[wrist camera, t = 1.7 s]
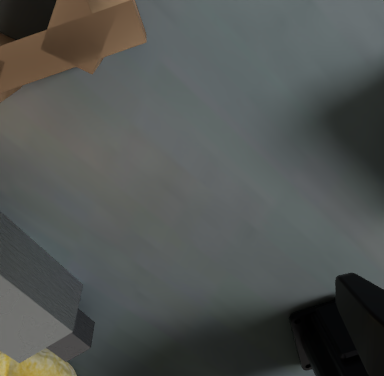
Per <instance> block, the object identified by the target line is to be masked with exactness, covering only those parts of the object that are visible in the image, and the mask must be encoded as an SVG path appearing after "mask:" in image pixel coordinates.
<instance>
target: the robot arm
mask: <svg viewBox="0 0 384 376" xmlns="http://www.w3.org/2000/svg"><path fill="white" fill-rule="evenodd" d="M335 286H336V300H334V301H331V302H328V303H325V304H322V305H318V306H315V307H312V308H309V309H305V310H302V311H299V312H296V313H293V314H292V315H291V316H290V317H289V320H290V324H291V328H292V332H293V336H294V340H295V344H296V348H297V352H298V356H299V359H300V363H301V366H302V368H303V369H304V370H310V369H313V371H314V373H315V375H316V376H384V290H383V289H382V288H380V287H378V286H376V285H374V284H373V283H371V282H369V281H367V280H366V279H364V278H362V277H360V276H359V275H357V274H355V273H348V274H343V275H339V276H337V277H336V280H335Z"/></svg>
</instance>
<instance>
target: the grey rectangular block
mask: <svg viewBox="0 0 384 376" xmlns="http://www.w3.org/2000/svg"><path fill="white" fill-rule="evenodd" d="M82 288H83V284H82V283H81V282H80V281H78V280H77V279H76V278H75V277H74V276H73V275H72V274H71V273H69V272H68V271H67V270H66V269H65V268H64V267H63V266H62V265H60V264H59V263H58V262H57V261H56V260H55V259H54V258H53V257H51V256H50V255H49V254H48V253H47V252H46V251H45V250H44V249H42V248H41V247H40V246H39V245H38V244H37V243H36V242H34V241H33V240H32V239H31V238H30V237H29V236H28V235H27V234H25V233H24V232H23V231H22V230H21V229H20V228H19V227H18V226H16V225H15V224H14V223H13V222H12V221H11V220H10V219H9V218H7V217H6V216H5V215H4V214H3V213H2V212H1V211H0V351H1V352H3V353H4V354H6V355H7V356H9V357H11V358H12V359H14V360H15V361H17V362H18V363H21V362H23V361H24V360H26V359H28V358H29V357H31V356H33V355H35V354H36V353H38V352H40V351H41V350H43V349H45V348H47V349H48V350H50V351H51V352H53V353H54V354H55V355H57V356H58V357H60V358H61V359H62V360H64V361H65V362H67V361H69V360H70V359H72V358H74V357H76V356H77V355H79V354H81V353H83V352H84V351H86V350H88V349H90V348H91V343H92V337H93V331H94V324H95V322H94V321H92V320H91V319H90V318H89V317H88V316H86V315H85V314H84V313H83V312H82V311H80V310H79V309H78V306H79V302H80V297H81V292H82Z"/></svg>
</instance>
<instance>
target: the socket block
mask: <svg viewBox="0 0 384 376" xmlns="http://www.w3.org/2000/svg"><path fill="white" fill-rule="evenodd" d="M143 43H146V32H145V29H144V26H143V23H142V20H141V17H140V14H139V11H138V8H137V5H136V2H135V0H57V1H56V4H55V7H54V10H53V13H52V16H51V19H50V22H49V25H48V28H47V30H44V31H41V32H39V33H36V34H33V35H30V36H27V37H24V38H22V39H19V40H14V39H12V38H10V37H8V36H6V35H4V34H2V33H0V103H1V102H2V101H3V100H5V99H6V98H7V97H9V96H10V95H12V94H13V93H14V92H16V91H17V90H19V89H20V88H21V87H22V85H25V84H28V83H31V82H34V81H37V80H39V79H42V78H45V77H48V76H51V75H54V74H57V73H60V72H62V71H65V70H68V69H71V68H74V67H78V68H80V69H82V70H84V71H86V72H88V73H90V74H93V73H94V71H95V70H96V69H97V67H98V66H99V64H100V63H101V61H102V60H103V58H104V57H106V56H109V55H111V54H114V53H117V52H120V51H123V50H126V49H129V48H132V47H135V46H137V45H140V44H143Z"/></svg>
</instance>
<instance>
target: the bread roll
mask: <svg viewBox="0 0 384 376" xmlns="http://www.w3.org/2000/svg"><path fill="white" fill-rule="evenodd" d="M0 376H77V374H76V372H75V370H74V369H73V367H72V366H71V365H70V364H69V363H68V362H65V361H64V360H62V359H61V358H60V357H58V356H57V355H55V354H54V353H53V352H51V351H50V350H48V349H47V348H45V349H43V350H41V351H40V352H38V353H36V354H35V355H33V356H31V357H29V358H28V359H26V360H24V361H23V362H21V363H18V362H17V361H15V360H14V359H12V358H11V357H9V356H7V355H6V354H4V353H3V352H1V351H0Z"/></svg>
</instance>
